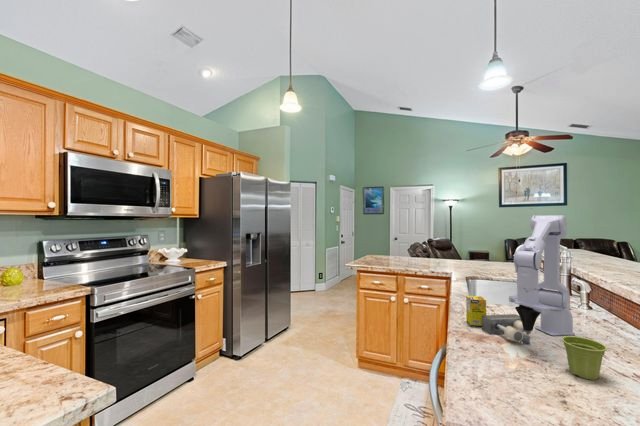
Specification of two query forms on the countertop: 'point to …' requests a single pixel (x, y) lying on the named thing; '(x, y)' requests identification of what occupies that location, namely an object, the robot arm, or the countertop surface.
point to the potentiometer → (525, 339)
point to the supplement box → (475, 310)
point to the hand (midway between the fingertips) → (528, 330)
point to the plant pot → (584, 356)
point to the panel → (503, 320)
